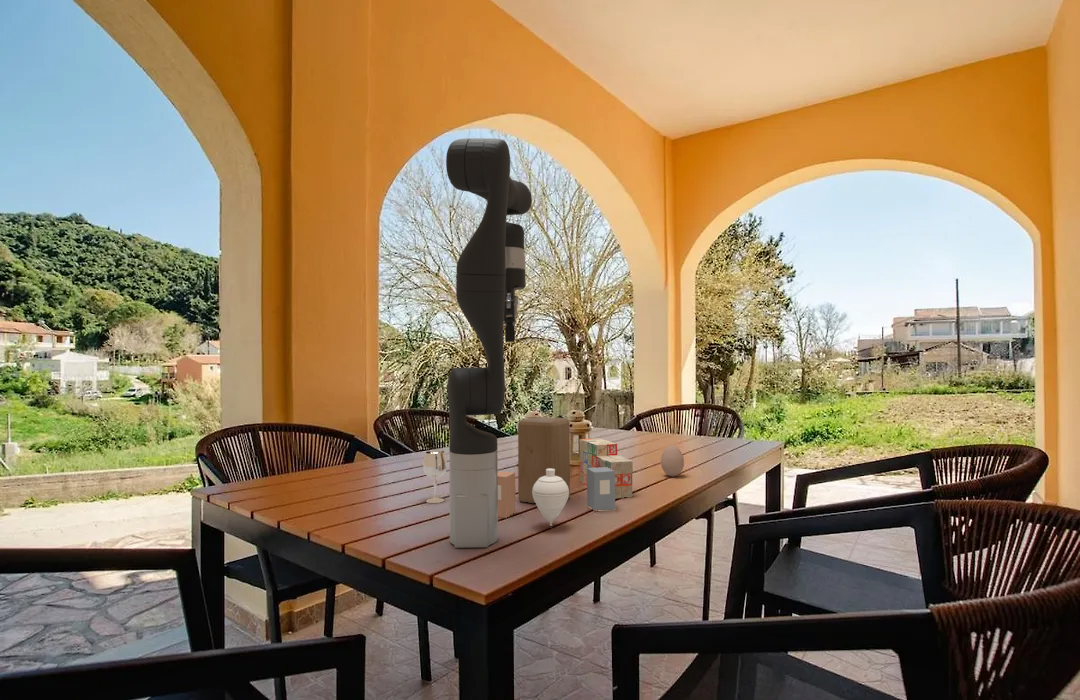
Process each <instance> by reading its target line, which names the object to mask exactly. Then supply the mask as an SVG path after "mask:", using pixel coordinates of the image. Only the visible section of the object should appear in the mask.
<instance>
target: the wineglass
mask: <svg viewBox="0 0 1080 700" xmlns="http://www.w3.org/2000/svg"><path fill="white" fill-rule="evenodd" d="M422 464H423V472H424V474H425V476H427V477H428V478H431V479H433V481H432V483H433V491H434V493H433V497H432V498H429V499H426V502H425V503H428V504H440V503H443V502H445V499H444V498H441V497H438V496H437V484H438V479H439V478H441V477H442V476H443V475H445V474H446V472H447V468H448V461H447V456H446V452H445V450H428V451H426V452H425V454H424V458H423V462H422Z"/></svg>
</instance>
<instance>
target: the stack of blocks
mask: <svg viewBox="0 0 1080 700" xmlns="http://www.w3.org/2000/svg"><path fill="white" fill-rule="evenodd" d="M578 441H579V468H580V471H579V478H580V479H579V480H580V482H581V481H582V482H583V484H584V483H585V484H587V468H600V467H607V468H610V469H612V470H614V471H615V499H625V498H624V497H627V498H633V471H634V466H633V462H634V461H633V460H631V459H628V458H627V457H624V456H621V455H619V454H618V443H616V442H613V441H610V440H606V439H603V438H600V437H598V438H597V437H596V438H594V437H593V438H582V439H581V438H580V439H578ZM582 482H581V483H582ZM585 484H584V485H585Z"/></svg>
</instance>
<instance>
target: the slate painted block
mask: <svg viewBox="0 0 1080 700" xmlns="http://www.w3.org/2000/svg"><path fill="white" fill-rule="evenodd" d="M587 505H588V506H589V507H591V508H592V509H593V510H595V511H596V510H597V511H598V510H614V509H615V510H616V498H615V471H614V470H612V469H610V468H607V467H600V468H587V485H586V506H587Z"/></svg>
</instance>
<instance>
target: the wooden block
mask: <svg viewBox="0 0 1080 700" xmlns="http://www.w3.org/2000/svg"><path fill="white" fill-rule="evenodd" d="M570 433H571V431H570V419H568V418H567V417H551V416H550V417H547V416H535V417H529V418H525V419H524V418H523V419H521V420H519V421H518V422H517V443H518V444H517V446H518V447H517V449H518V451H517V457H518V458H517V459H518V460H517V464H518V465H517V470H518V471H517V472H518V476H517V477H518V481H517V482H518V501H520V502H522V503H526V502H528V503H527V504H534V503H535V501H534V499H533V495H532V489H533V486H534V484H535V483H536V481H537V480H538V479H539V478H541V477H543V476H546V469H549V468H552V469H555V476H558V477H561V478H562V479H563V480H564V481H565V483H566V484H567V486H568V488H569V497H568V499H569V498H570V495H571V465H570V464H571V463H570V461H571V459H570V456H571V454H570V453H571V452H570V450H571V449H570V446H571V445H570V440H571V439H570Z"/></svg>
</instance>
